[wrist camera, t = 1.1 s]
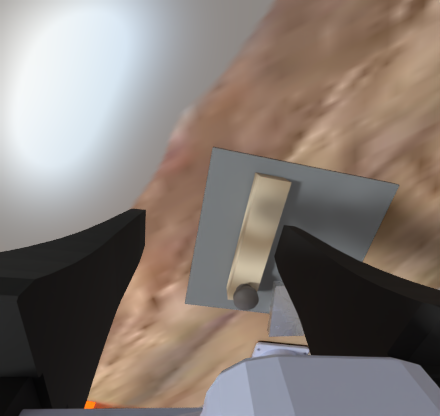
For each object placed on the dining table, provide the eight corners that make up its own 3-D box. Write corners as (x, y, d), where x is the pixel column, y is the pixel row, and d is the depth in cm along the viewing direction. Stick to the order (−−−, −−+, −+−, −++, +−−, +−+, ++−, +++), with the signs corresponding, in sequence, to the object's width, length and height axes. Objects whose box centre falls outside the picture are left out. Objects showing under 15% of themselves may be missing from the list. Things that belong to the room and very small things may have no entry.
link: (250, 290, 26) (256, 313, 23) (226, 287, 26) (229, 310, 22) (284, 177, 21) (297, 186, 18) (255, 172, 21) (264, 180, 18)
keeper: (261, 312, 28) (269, 336, 24) (266, 265, 25) (275, 286, 22) (292, 311, 28) (303, 335, 25) (300, 265, 26) (313, 285, 22)
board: (329, 314, 30) (333, 320, 29) (185, 297, 28) (184, 303, 27) (391, 182, 24) (399, 184, 23) (212, 146, 21) (213, 147, 20)
